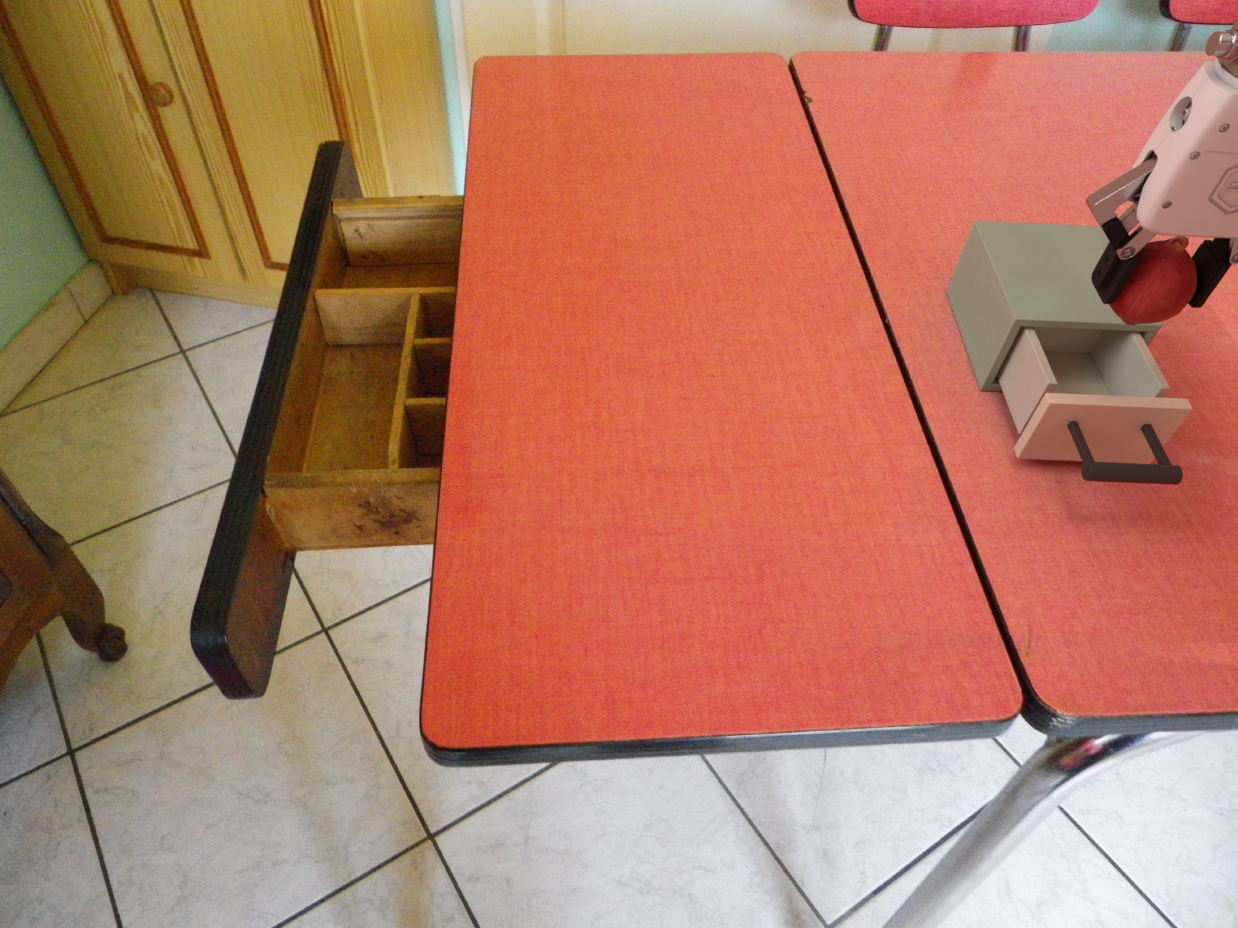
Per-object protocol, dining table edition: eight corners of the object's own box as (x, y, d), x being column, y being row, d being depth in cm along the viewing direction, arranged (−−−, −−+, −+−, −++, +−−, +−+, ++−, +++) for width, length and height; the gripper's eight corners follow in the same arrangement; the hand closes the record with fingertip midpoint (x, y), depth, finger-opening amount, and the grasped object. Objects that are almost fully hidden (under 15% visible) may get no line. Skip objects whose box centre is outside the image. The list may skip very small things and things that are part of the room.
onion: (1085, 333, 66) (1136, 247, 60) (1089, 291, 70) (1137, 205, 63) (1166, 355, 65) (1226, 268, 59) (1165, 310, 68) (1222, 224, 62)
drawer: (1177, 519, 69) (1225, 465, 63) (1036, 513, 69) (1073, 458, 63) (1097, 357, 81) (1132, 300, 76) (978, 352, 81) (1005, 295, 76)
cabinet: (1115, 396, 79) (1162, 325, 72) (980, 390, 79) (1015, 319, 72) (1066, 297, 88) (1104, 226, 82) (945, 292, 88) (974, 220, 82)
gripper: (1175, 78, 49) (1046, 322, 63) (1474, 91, 49) (1279, 331, 63) (1128, 23, 54) (1018, 260, 67) (1400, 35, 54) (1235, 269, 67)
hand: (1145, 292), depth 65 cm, fingers closed on onion, 5 cm apart
